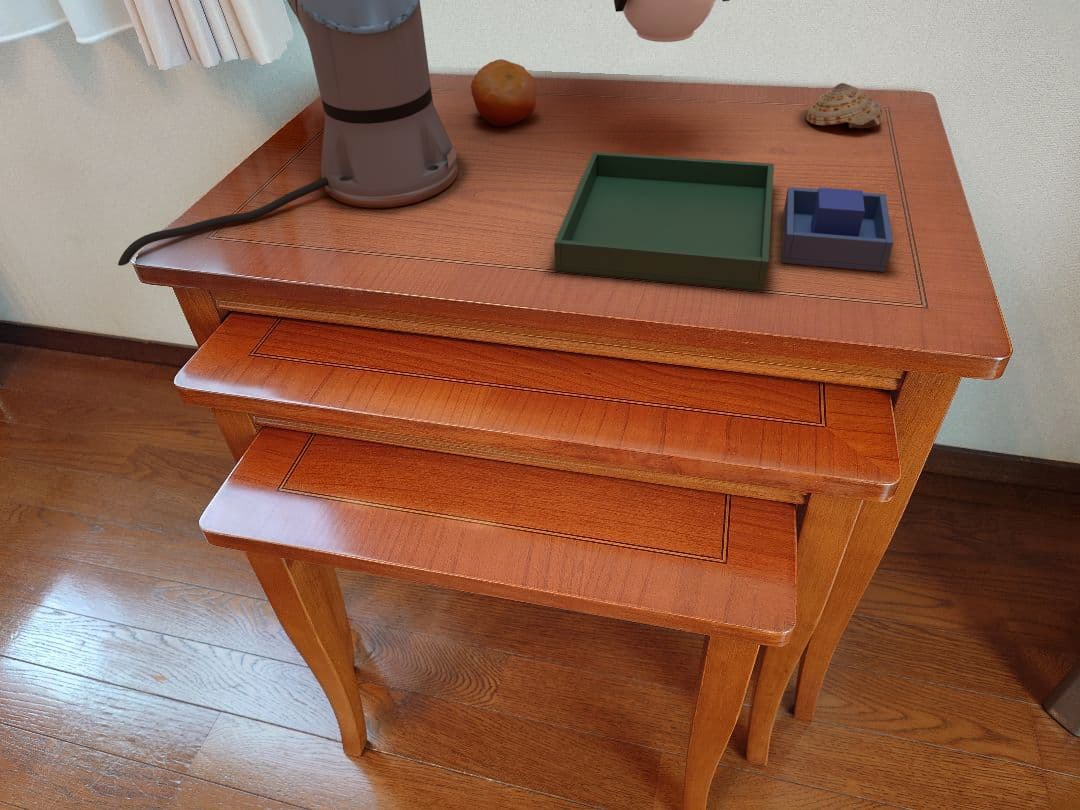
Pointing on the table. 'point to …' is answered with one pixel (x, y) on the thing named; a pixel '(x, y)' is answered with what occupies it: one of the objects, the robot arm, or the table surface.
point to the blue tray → (836, 249)
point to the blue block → (838, 212)
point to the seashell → (845, 108)
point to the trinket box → (667, 18)
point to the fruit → (504, 93)
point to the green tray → (670, 221)
